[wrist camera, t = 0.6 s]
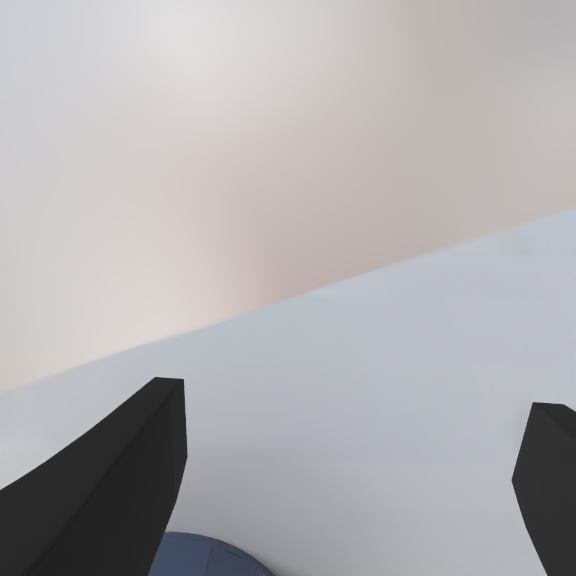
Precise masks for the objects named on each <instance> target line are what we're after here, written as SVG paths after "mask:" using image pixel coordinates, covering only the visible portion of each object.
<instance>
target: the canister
mask: <svg viewBox="0 0 576 576" xmlns="http://www.w3.org/2000/svg"><path fill="white" fill-rule="evenodd" d="M148 576H273V575H272V574H271V573H270V572H269V571H268V570H267V569H266V568H265V567H264V566H263V565H261V564H260V563H259V562H257V561H256V560H255V559H253V558H252V557H251V556H249V555H248V554H246V553H244V552H242V551H241V550H239V549H237V548H235V547H233V546H231V545H228V544H226V543H224V542H221V541H218V540H215V539H212V538H209V537H205V536H200V535H195V534H189V533H177V532H164V535H163V537H162V540H161V542H160V545H159V547H158V550H157V553H156V555H155V558H154V560H153V563H152V565H151V568H150V570H149V573H148Z"/></svg>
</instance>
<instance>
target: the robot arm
mask: <svg viewBox="0 0 576 576" xmlns="http://www.w3.org/2000/svg"><path fill="white" fill-rule="evenodd" d="M187 457H188V456H187V435H186V415H185V395H184V379H175V378H160V377H155V378H154V379H152V380H151V381H150V382H148V383H147V384H146V385H145V386H143V387H142V388H141V389H140V390H139V391H137V392H136V393H135V394H134V395H132V396H131V397H130V398H129V399H128V400H126V401H125V402H124V403H123V404H121V405H120V406H119V407H118V408H116V409H115V410H114V411H113V412H112V413H110V414H109V415H108V416H106V417H105V418H104V419H103V420H101V421H100V422H99V423H98V424H96V425H95V426H94V427H93V428H91V429H90V430H89V431H87V432H86V433H85V434H83V435H82V436H81V437H79V438H78V439H76V440H75V441H74V442H72V443H71V444H69V445H68V446H67V447H65V448H64V449H62V450H61V451H60V452H58V453H57V454H55V455H54V456H53V457H51V458H50V459H48V460H47V461H46V462H44V463H43V464H41V465H40V466H38V467H37V468H35V469H34V470H32V471H30V472H29V473H27V474H26V475H24V476H23V477H21V478H19V479H18V480H16V481H15V482H13V483H11V484H9V485H8V486H6V487H4V488H3V489H1V490H0V576H148V573H149V570H150V568H151V565H152V563H153V560H154V558H155V555H156V553H157V550H158V547H159V545H160V542H161V540H162V537H163V535H164V532H165V529H166V527H167V524H168V522H169V519H170V516H171V514H172V511H173V508H174V506H175V503H176V500H177V496H178V492H179V489H180V485H181V481H182V477H183V473H184V469H185V465H186V461H187ZM512 483H513V487H514V490H515V494H516V497H517V501H518V504H519V507H520V511H521V514H522V517H523V520H524V523H525V526H526V529H527V531H528V533H529V536H530V538H531V540H532V543H533V545H534V547H535V549H536V551H537V554H538V556H539V558H540V560H541V563H542V565H543V567H544V569H545V571H546V574H547V576H576V412H575V411H574V410H572V409H570V408H569V407H567V406H565V405H564V404H551V403H536V402H533V403H532V407H531V411H530V414H529V418H528V422H527V425H526V429H525V433H524V436H523V440H522V444H521V447H520V451H519V455H518V458H517V462H516V466H515V469H514V473H513V477H512Z"/></svg>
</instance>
